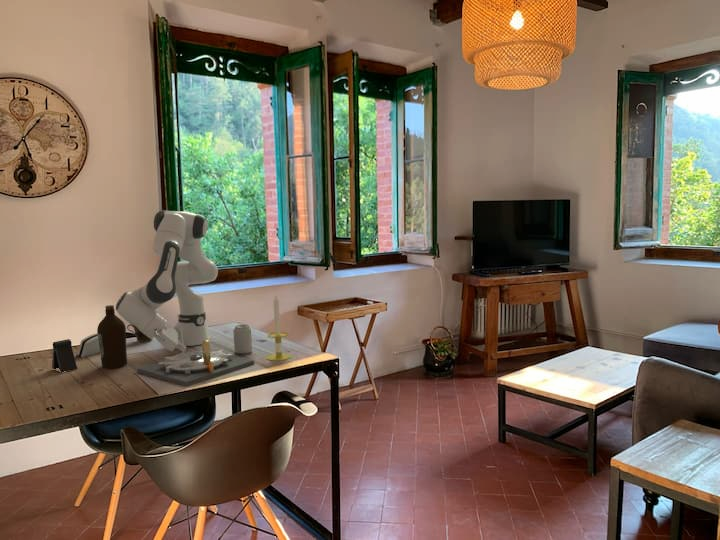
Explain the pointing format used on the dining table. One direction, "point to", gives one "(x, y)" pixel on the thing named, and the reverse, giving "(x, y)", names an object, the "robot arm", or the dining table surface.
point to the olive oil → (112, 340)
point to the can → (242, 339)
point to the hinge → (89, 346)
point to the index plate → (194, 376)
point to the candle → (278, 336)
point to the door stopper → (63, 356)
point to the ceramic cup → (140, 335)
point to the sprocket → (195, 360)
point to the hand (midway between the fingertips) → (185, 349)
